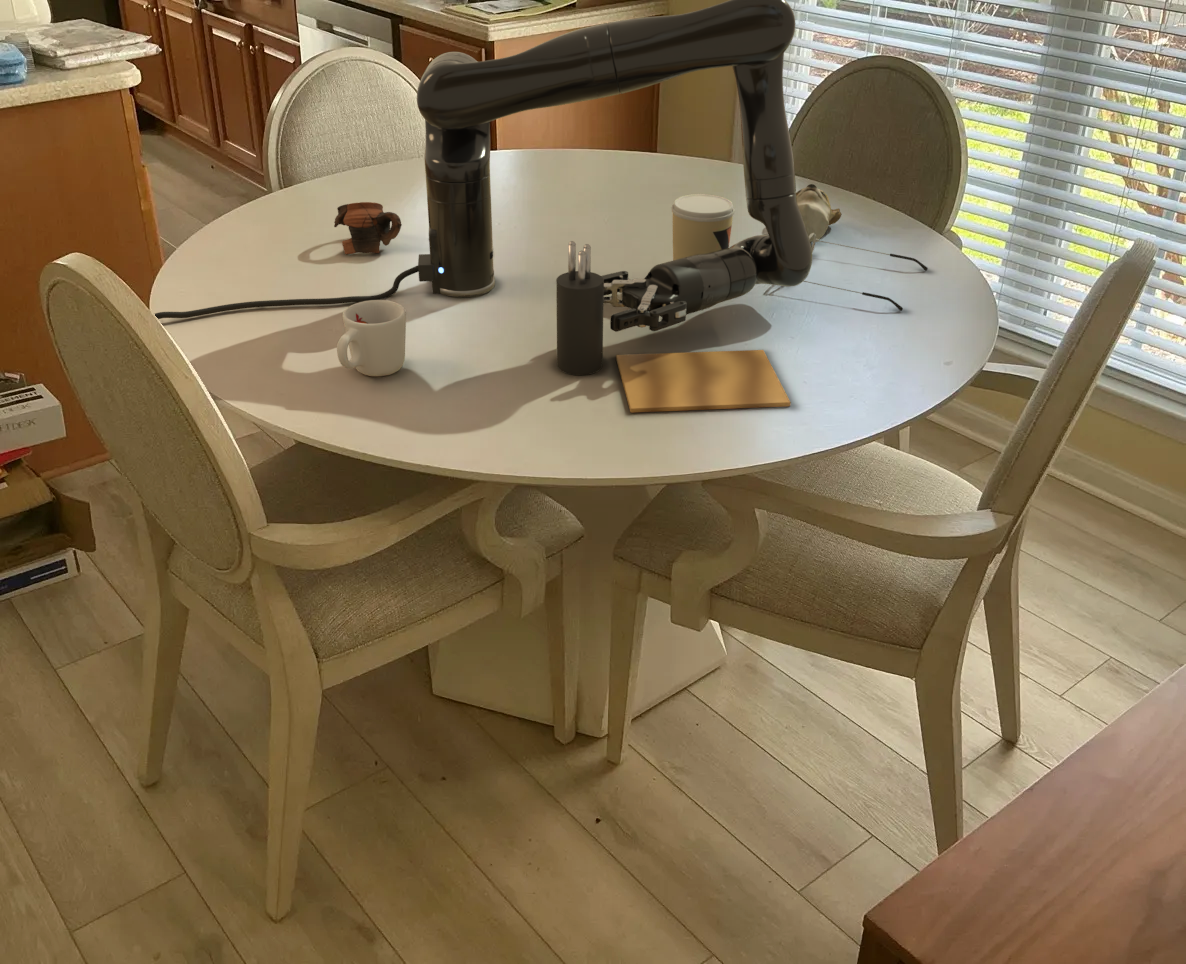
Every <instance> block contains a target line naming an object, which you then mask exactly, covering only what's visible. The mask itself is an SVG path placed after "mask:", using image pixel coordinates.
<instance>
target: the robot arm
mask: <svg viewBox="0 0 1186 964" xmlns="http://www.w3.org/2000/svg"><path fill="white" fill-rule="evenodd" d="M795 31H796V17H795V14H794V11H793V8H792V7H791V6H790V4H789V2H787V0H726V1H723V2H721V3H720V2H719V3H718V4H717V3H716V4H714V5H711V6H708V7H704V8H702V9H697V10H694V11H690V12H686V13H681V14H672V15H661V16H660V15H658V16H657V15H656V16H645V17H636V18H628V19H621V20H614V21H608V23H607V22H604V23H600V24H596V25H592V26H587V27H582V28H578V29H575V30H572V31H569V32H566V33H563V34H560V35H558V36H556V37H553V38H551V39H549V40H546V41H544V42H542V43H540V44H537V45H535V46H533V47H530V48H529V49H526V50H524V51H522V52H518V53H516V54H513V55H510V56H505V57H501V58H495V59H488V60H483V61H477V60H476V59H475V58H474V57H472V55H471V56H470V55H469V54H467V53H464V52H460V51H448V52H444V53H442V54H440V55H437V56H436V57H435V58H434V59H433V60H432V61H431V62H430V63H429V64H428V66H427V67H426V68H425V70H424V72H423V74H422V76H421V78H420V80H419V82H418V86H417V90H416V106H417V108H418V111H419V113H420V114H421V116H422V118H423V119H424V124H425V125H424V127H425V142H424V143H425V146H424V157H423V158H424V174H425V187H426V201H427V219H428V246H429V247H428V248H429V253H424V254H423V253H422V254H421V253H419V254H418V258H417V259H418V260H417V261H418V262H417V265H415V266H413V267H411V268H408V269H405V270H404V271H402V272H401V273H399V274H398V275H397V276H396V277H395V279H394V281H393V283H392V286H391V287H390V289H388V290H387V291H385V292H382V293H380V294H375V295H355V296H353V295H351V296H342V297H328V298H327V297H326V298H325V297H324V298H292V299H291V298H289V299H270V300H268V299H267V300H255V301H244V302H235V303H228V304H227V303H226V304H221V305H216V306H215V305H214V306H211V307H210V306H209V307H205V308H200V309H193V310H186V311H160V312H156V313H154V314H155V316H156V317H157V318H158V320H160V319H189V318H194V317H195V318H196V317H200V316H206V315H210V314H211V315H212V314H217V313H221V312H228V311H235V310H243V309H254V308H266V307H267V308H268V307H291V306H310V305H312V306H314V305H315V306H318V305H319V306H321V305H340V304H348V303H349V304H350V303H359V302H363V301H369V300H385V299H387V298H389V297H391V296H393V295H394V294H395V293H396V292H398V289H399V287H400V284H401V282H402V281H403V280H404V279H405V278H407V277H409V276H411V275H414V274H416V273H418V281H419V282H420V283H421V282H431V288H432V289H431V290H432V294H433V295H443V296H447V297H453V298H470V297H476V296H480V295H484V294H487V293H488V292H490V291H492V290H493V289H494V288H495V285H496V284H495V282H496V280H495V279H496V278H495V269H494V252H495V250H494V242H493V241H494V239H493V217H492V214H493V213H492V189H491V186H492V185H491V122H493V121H495V120H498V119H499V120H500V119H502V118H504V117H508V116H511V115H515V114H517V113H521V112H526V111H531V110H537V109H546V108H552V107H560V106H564V105H565V106H566V105H570V104H575V103H580V102H587V101H592V100H598V99H602V98H603V99H604V98H607V97H612V96H617V95H620V94H626V93H630V92H633V91H637V90H640V89H645V88H648V87H651V86H654V85H658V84H660V83H663V82H666V81H669V80H671V79H674V78H677V77H680V76H684V75H686V74H691V73H693V72H694V73H695V72H698V71H704V70H710V69H718V68H725V67H726V68H727V67H732V71H733V76H734V78H735V85H736V91H737V97H738V98H737V99H738V105H739V113H740V115H739V116H740V127H741V129H740V130H741V145H742V165H743V167H742V168H743V179H744V188H745V200H746V201H745V202H746V208H747V213H748V215H749V217H750V218H752V219H753V220H756V221H758V222H759V223H761V224H763V226H764V227H765V229H766V232H767V234H758V235H754V236H750V237H747V238H744V239H742V240H740V241H739V242H737V243H735V244H732V245H731V246H729V248H726V249H721V250H718V251H714V252H710V253H706V254H697V255H692V256H688V257H685V258H681V259H677V260H673V259H672V260H669V261H666V262H663V263H659V264H655V265H654V266H653V267H652V268H651V269H650V270H649V271H648V273H647V275H646V276H645V277H643V278H638V277H637V278H633V279H631V278H630V277H629V272H628V271H626V270H621V271H616V272H612V273H607V274H603V275H601V276H602V277H603V279H604V303H603V304H610V306H612V308H613V307H614V308H628V309H626V310H623V311H619V312H615V313H613V314H611V316H610V321H609V322H610V323H609V324H610V330H611V331H613V332H615V333H617V332H621V331H623V330H628V329H631V328H634V327H638V328H646V327H648V330H649V331H651V332H659V331H660V330H663V329H666V328H670V327H673V326H675V325H678V324H680V323H684V322H686V321H687V320H686V319H687V315H691V314H693V313H697V312H701V311H703V310H706V309H710V308H712V307H714V306H717V305H718V304H721V303H724V302H727V301H731V300H734V299H738V298H740V297H742V296H744V295H747V294H748V293H750V292H751V291H752V290H753V289H754V288H755V286H756V285H772V286H778V287H779V286H780V287H788V288H789V287H796V286H799V285H800V284H802V283H804V282H803V281H806V279H807V278H808V276H809V274H810V272H811V269H812V265H813V253H812V242H810V239H809V236H808V233H807V230H806V227H805V224H804V221H803V218H802V215H801V212H800V210H799V207H798V204H797V199H796V192H797V184H796V172H795V170H796V169H795V163H794V161H795V160H794V154H793V147H792V140H791V135H790V129H789V125H788V117H787V113H786V106H785V97H784V58H785V52H786V51H787V50H788V48H789V47H790V45H791V44H792V41H793V39H794V36H795V33H796V32H795ZM618 293H619V294H621V299H619V298H618ZM609 295H611V296H609ZM660 318H661V320H660Z"/></svg>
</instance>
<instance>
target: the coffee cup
mask: <svg viewBox="0 0 1186 964" xmlns="http://www.w3.org/2000/svg"><path fill="white" fill-rule="evenodd" d="M735 210H736V209H735V207H734V204H733V202H732V201H731V200H730V199H728V198H726V197H723V196H720V195H715V194H714V195H713V194H707V193H695V194H692V193H691V194H686V195H682V196H679V197H677V198H676V199H675V200H674V201H673V204H671V213H672V261H673V260H677V259H681V258H685V257H688V256H692V255H697V254H706V253H710V252H714V251H718V250H721V249H726V248H730V241H731V235H732V227H733V219H734V215H735V212H736V211H735Z"/></svg>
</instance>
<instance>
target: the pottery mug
mask: <svg viewBox="0 0 1186 964" xmlns="http://www.w3.org/2000/svg"><path fill="white" fill-rule="evenodd" d="M336 210H337V215H336V216H335V218H334V221H333V223H334V225H333V227H334V228H337V227H338V226H339V225H342V226H346V227H348V231H349V234H350V238H347V239H345V240H344V239H343V240H342V241H341V245H342V248H343V252H344V255H353V254H360V253H361V254H379V253H380V251H381V250H380V248H381V242H382V245H384V246H386V247H387V246H389V244H390V243H391V241H392V240H395V238H396V237H398V235H399V234H400V231H401V229H402V226H403V223H402V221H401V220H402V219H401V218H400V216H399V215H398V214H397V213H396V212H393V211H385V212H384V206H383V204H381V203H378V202H371V201H360V202H352V203H345V204H341V205H340V206H337V209H336Z"/></svg>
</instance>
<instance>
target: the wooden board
mask: <svg viewBox="0 0 1186 964" xmlns="http://www.w3.org/2000/svg"><path fill="white" fill-rule="evenodd" d="M615 361H616V364H617V367H618V368H617V369H618V372H619V376H620V378H621V383H622V386H623V391H624V393H625V397H626V401H627V405H628V408H629V413H631V414H633V413H655V412H680V411H681V412H682V411H702V410H703V411H705V410H706V411H707V410H708V411H709V410H728V409H731V410H732V409H754V408H755V409H758V408H783V407H784V408H785V407H791V403H792V402H791V400H790V399H789V396H788V395H787V393H786V391H785V389H784V387H783V385H782V382H781V381H780V379H779V377H778V375H777V373H776V371H775V369H774V368H773V366H772V364H771V362H770V360H769V358H768V356H767V354H766V352H765V350H764V349H748V350H745V349H744V350H722V351H721V350H720V351H716V350H715V351H696V352H695V351H693V352H691V351H690V352H689V351H687V352H663V353H661V352H660V353H636V354H635V353H634V354H633V353H631V354H616V355H615Z"/></svg>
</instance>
